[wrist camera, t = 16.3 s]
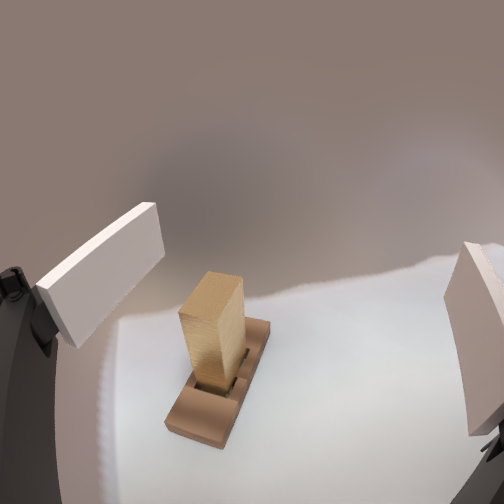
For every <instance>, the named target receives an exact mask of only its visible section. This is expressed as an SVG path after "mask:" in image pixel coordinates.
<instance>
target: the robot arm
mask: <svg viewBox="0 0 504 504" xmlns="http://www.w3.org/2000/svg"><path fill="white" fill-rule="evenodd" d="M164 256H165V251H164V246H163V241H162V235H161V230H160V224H159V219H158V213H157V207H156V203H148V202H142V203H141V204H139V205H138V206H136V207H135V208H133V209H132V210H130V211H129V212H128V213H126V214H125V215H123V216H122V217H120V218H119V219H118V220H116V221H115V222H113V223H112V224H111V225H109V226H108V227H107V228H105V229H104V230H102V231H101V232H100V233H98V234H97V235H96V236H94V237H93V238H92V239H90V240H89V241H88V242H87V243H85V244H84V245H83V246H81V247H80V248H79V249H78V250H76V251H75V252H74V253H73V254H71V255H70V256H69V257H68V258H66V259H65V260H64V261H62V262H61V263H60V264H59V265H58V266H56V267H55V268H54V269H53V270H51V271H50V272H49V273H48V274H47V275H46V276H44V277H43V278H42V279H41V280H40V281H39V282H37V283H36V285H35V286H34V287H33V288H31V289H30V287H29V285H28V282H27V280H26V278H25V276H24V274H23V271H22V269H21V268H20V267H11V268H9V269H6V270H5V271H4V272H2V273H1V274H0V504H62V502H61V496H60V489H59V481H58V472H57V461H56V448H55V424H54V423H55V419H54V405H55V375H56V360H57V350H58V340H57V338H56V336H55V335H56V334H57V333H58V332H60V333H61V335H62V337H63V339H64V340H65V342H66V343H68V344H69V345H71V346H73V347H75V348H77V349H79V348H80V347H81V345H82V344H83V343H84V342H85V341H86V340H87V338H88V337H89V336H90V335H91V334H92V333H93V332H94V331H95V329H96V328H97V327H98V326H99V325H100V324H101V323H102V321H103V320H104V319H105V318H106V317H107V316H108V315H109V314H110V313H111V312H112V310H113V309H114V308H115V307H116V306H117V305H118V304H119V303H120V302H121V301H122V300H123V298H124V297H125V296H126V295H127V294H128V293H129V292H130V291H131V290H132V289H133V288H134V287H135V286H136V285H137V284H138V282H139V281H140V280H141V279H142V278H143V277H144V276H145V275H146V274H147V273H148V272H149V271H150V270H151V269H152V268H153V267H154V266H155V265H156V264H157V263H158V262H159V261H160V260H161V259H162V258H163V257H164ZM444 300H445V304H446V308H447V311H448V315H449V319H450V323H451V327H452V331H453V335H454V340H455V344H456V349H457V354H458V359H459V364H460V369H461V375H462V381H463V388H464V394H465V402H466V411H467V420H468V432H469V436H478V435H488V434H489V433H490V432H491V431H492V430H493V429H494V428H496V427H497V426H498V425H499V432H500V434H498V435H497V436H496V437H495V438H494V439H493V440H491V441H490V442H489V443H488V444H487V445H485V446H484V447H483V448H482V449H481V450H480V451H481V452H483V451H485V450H486V449H487V448H488V450H487V452H486V453H485V455H484V457H483V458H482V460H481V461H480V463H479V464H478V466H477V467H476V469H475V470H474V472H473V473H472V475H471V476H470V478H469V479H468V481H467V482H466V483H465V485H464V486H463V487H462V489H461V490H460V491H459V493H458V494H457V495H456V497H455V498H454V499H453V501H452V502H451V503H450V504H504V288H503V286H502V284H501V282H500V281H499V279H498V277H497V275H496V273H495V271H494V269H493V268H492V266H491V264H490V262H489V261H488V259H487V257H486V256H485V254H484V252H483V251H482V249H481V247H480V246H479V244H473V243H468V242H463V245H462V248H461V251H460V254H459V257H458V260H457V263H456V266H455V269H454V272H453V274H452V277H451V280H450V282H449V285H448V287H447V290H446V292H445V295H444Z"/></svg>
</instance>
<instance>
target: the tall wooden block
mask: <svg viewBox="0 0 504 504" xmlns="http://www.w3.org/2000/svg"><path fill="white" fill-rule="evenodd" d="M178 314H179V318H180V322H181V326H182V330H183V333H184V337H185V341H186V345H187V349H188V352H189V356H190V360H191V363H192V367H193V370H194V374H195V377H196V380H197V384H198V385H200V386H201V388H202V391H204V392H207V393H210V394H214V395H217V396H220V397H224V398H227V399H229V397H230V394H231V392H232V384H233V382H234V380H235V377H236V375H237V373H238V371H239V368H240V367H241V368H242V367H243V365H244V357H245V355H246V352H247V351H246V334H245V316H244V298H243V279H242V277H239V276H233V275H228V274H222V273H216V272H211V271H208V272H207V274H206V275H205V276H204V278H203V279H202V280H201V281H200V283H199V284H198V285H197V287H196V288H195V290H194V291H193V292H192V294H191V295H190V296H189V298H188V299H187V301H186V302H185V303H184V305H183V306H182V307H181V309H180V310H179V311H178Z"/></svg>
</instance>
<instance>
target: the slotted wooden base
mask: <svg viewBox="0 0 504 504" xmlns="http://www.w3.org/2000/svg"><path fill="white" fill-rule="evenodd" d="M245 334H246V351H247V352H246V355H245V357H244V358H245V359H246V360H245V362H244V365H243V367H242V368H241V367H240V368H239V371H238V373H237V375H236V377H235V380H234V382H233V384H232V386H234V388H233V390H232V392H231V394H230V397H229V399H227V398H224V397H220V396H217V395H214V394H210V393H207V392H204V391H201V389H202V388H201V386H200V385H198V384H197V380H196V377H195V374H194V370H193V372H192V373H191V375H190V377H189V379H188V380H187V382H186V384H185V386H184V388H183V389H182V391H181V393H180V395H179V396H178V398H177V400H176V402H175V403H174V405H173V407H172V409H171V410H170V412H169V414H168V416H167V417H166V419H165V421H164V423H165V425H166V426H167V428H168V429H169V431H172V432H174V433H177V434H179V435H182V436H185V437H187V438H190V439H193V440H196V441H198V442H201V443H204V444H207V445H210V446H213V447H216V448H219V449H223V448H224V446H225V444H226V442H227V439H228V437H229V435H230V432H231V430H232V427H233V425H234V423H235V420H236V418H237V416H238V413H239V411H240V408H241V406H242V403H243V401H244V398H245V396H246V394H247V391H248V389H249V386H250V384H251V381H252V379H253V376H254V374H255V371H256V368H257V366H258V363H259V361H260V358H261V356H262V353H263V350H264V348H265V345H266V342H267V340H268V337H269V335H270V322H269V321H264V320H259V319H254V318H249V317H245Z"/></svg>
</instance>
